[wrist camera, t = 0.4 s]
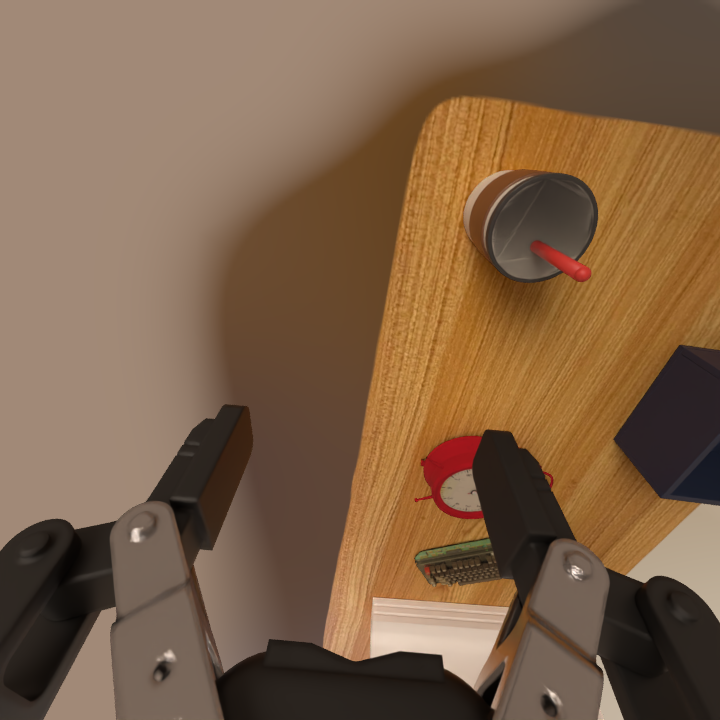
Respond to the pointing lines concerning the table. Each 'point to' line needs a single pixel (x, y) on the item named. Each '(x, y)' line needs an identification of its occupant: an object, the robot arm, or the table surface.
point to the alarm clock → (455, 477)
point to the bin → (679, 428)
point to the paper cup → (532, 224)
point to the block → (438, 632)
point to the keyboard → (459, 563)
